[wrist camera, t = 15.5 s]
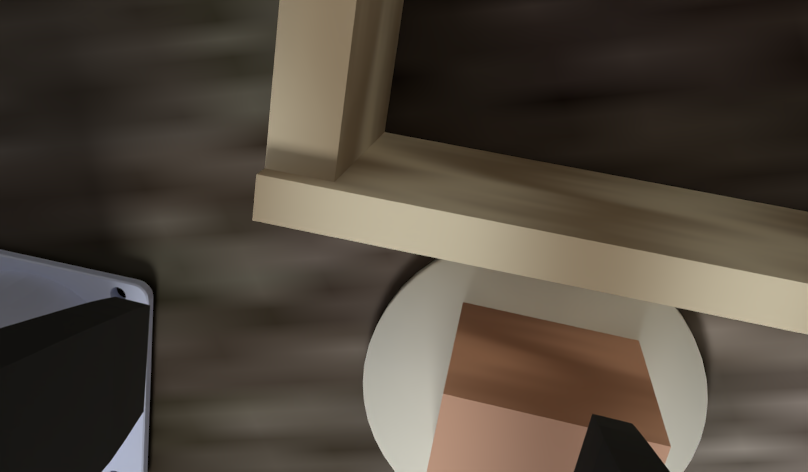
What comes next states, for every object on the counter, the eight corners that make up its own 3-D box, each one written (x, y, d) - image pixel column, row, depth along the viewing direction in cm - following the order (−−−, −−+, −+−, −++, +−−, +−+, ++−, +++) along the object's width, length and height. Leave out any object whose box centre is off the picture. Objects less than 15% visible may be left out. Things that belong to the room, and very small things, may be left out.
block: (432, 445, 22) (406, 566, 18) (463, 301, 21) (442, 393, 16) (594, 484, 22) (611, 619, 17) (638, 340, 20) (670, 446, 16)
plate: (348, 484, 24) (344, 496, 24) (391, 203, 21) (387, 209, 20) (650, 558, 23) (653, 572, 23) (749, 274, 20) (756, 282, 19)
